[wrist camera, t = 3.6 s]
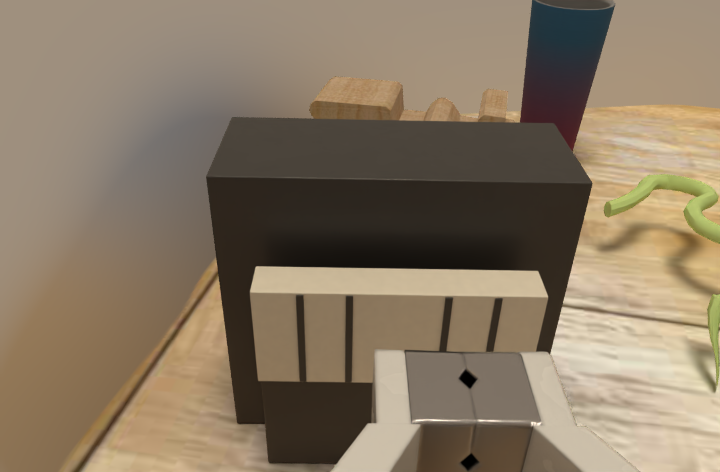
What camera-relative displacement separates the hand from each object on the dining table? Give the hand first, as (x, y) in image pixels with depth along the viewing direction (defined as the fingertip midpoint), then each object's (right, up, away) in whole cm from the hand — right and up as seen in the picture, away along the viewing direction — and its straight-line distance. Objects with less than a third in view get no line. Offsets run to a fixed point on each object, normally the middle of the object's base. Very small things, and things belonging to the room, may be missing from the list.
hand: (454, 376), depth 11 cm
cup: (+16, +10, +51) cm, 55 cm away
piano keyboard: (0, -4, +18) cm, 18 cm away
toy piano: (0, -6, +25) cm, 26 cm away
